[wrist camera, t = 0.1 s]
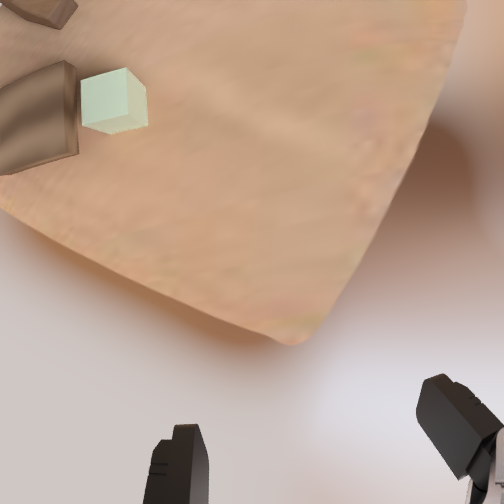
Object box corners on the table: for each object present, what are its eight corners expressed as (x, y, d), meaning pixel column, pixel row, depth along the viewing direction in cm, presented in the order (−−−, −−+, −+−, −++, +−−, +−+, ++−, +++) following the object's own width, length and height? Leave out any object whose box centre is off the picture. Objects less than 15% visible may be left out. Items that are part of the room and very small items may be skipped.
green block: (107, 96, 32) (80, 80, 24) (145, 87, 32) (126, 67, 24) (109, 134, 33) (82, 125, 25) (148, 126, 33) (128, 114, 25)
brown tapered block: (11, 96, 30) (-5, 91, 26) (77, 68, 30) (64, 60, 27) (13, 174, 33) (-4, 175, 29) (80, 154, 33) (65, 152, 30)
